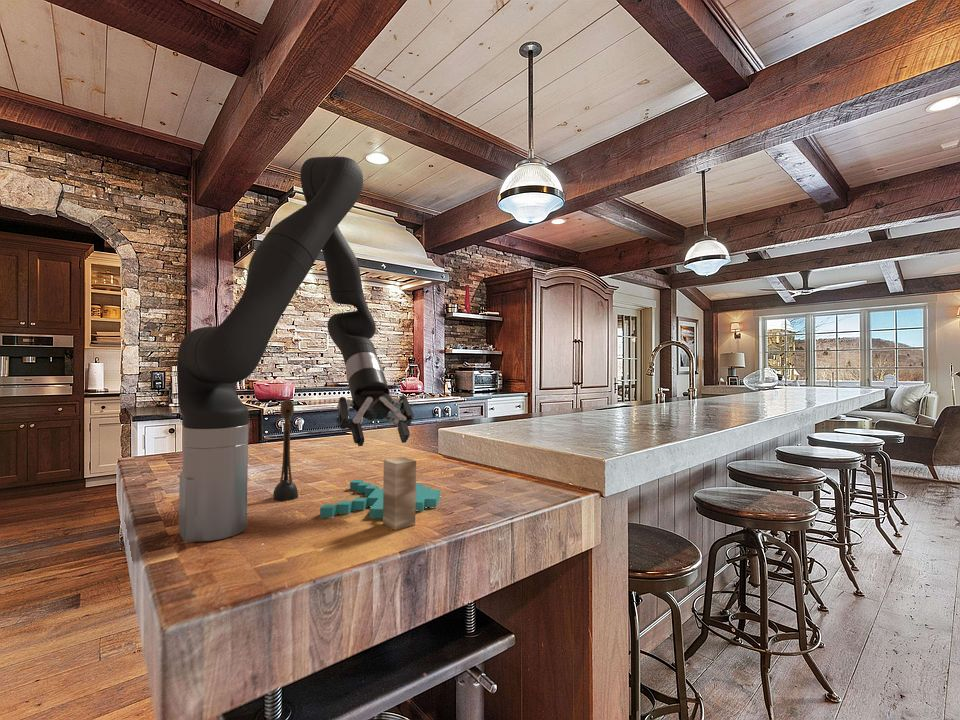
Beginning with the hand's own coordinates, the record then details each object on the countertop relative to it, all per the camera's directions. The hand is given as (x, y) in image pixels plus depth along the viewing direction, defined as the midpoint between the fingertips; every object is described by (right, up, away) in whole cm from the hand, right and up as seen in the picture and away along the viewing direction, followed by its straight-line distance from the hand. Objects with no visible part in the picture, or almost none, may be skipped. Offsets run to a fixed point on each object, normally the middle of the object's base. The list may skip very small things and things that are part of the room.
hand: (384, 441), depth 87 cm
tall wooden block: (+3, -13, -6) cm, 15 cm away
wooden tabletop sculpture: (-21, -13, +7) cm, 26 cm away
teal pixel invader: (0, -14, +5) cm, 15 cm away
